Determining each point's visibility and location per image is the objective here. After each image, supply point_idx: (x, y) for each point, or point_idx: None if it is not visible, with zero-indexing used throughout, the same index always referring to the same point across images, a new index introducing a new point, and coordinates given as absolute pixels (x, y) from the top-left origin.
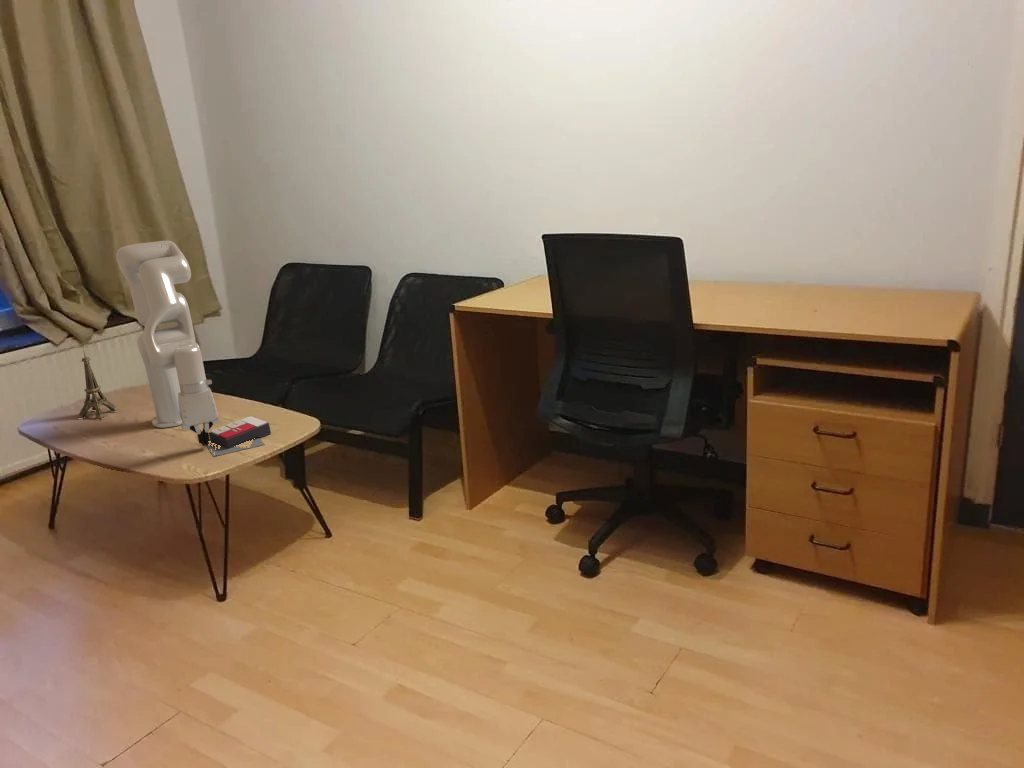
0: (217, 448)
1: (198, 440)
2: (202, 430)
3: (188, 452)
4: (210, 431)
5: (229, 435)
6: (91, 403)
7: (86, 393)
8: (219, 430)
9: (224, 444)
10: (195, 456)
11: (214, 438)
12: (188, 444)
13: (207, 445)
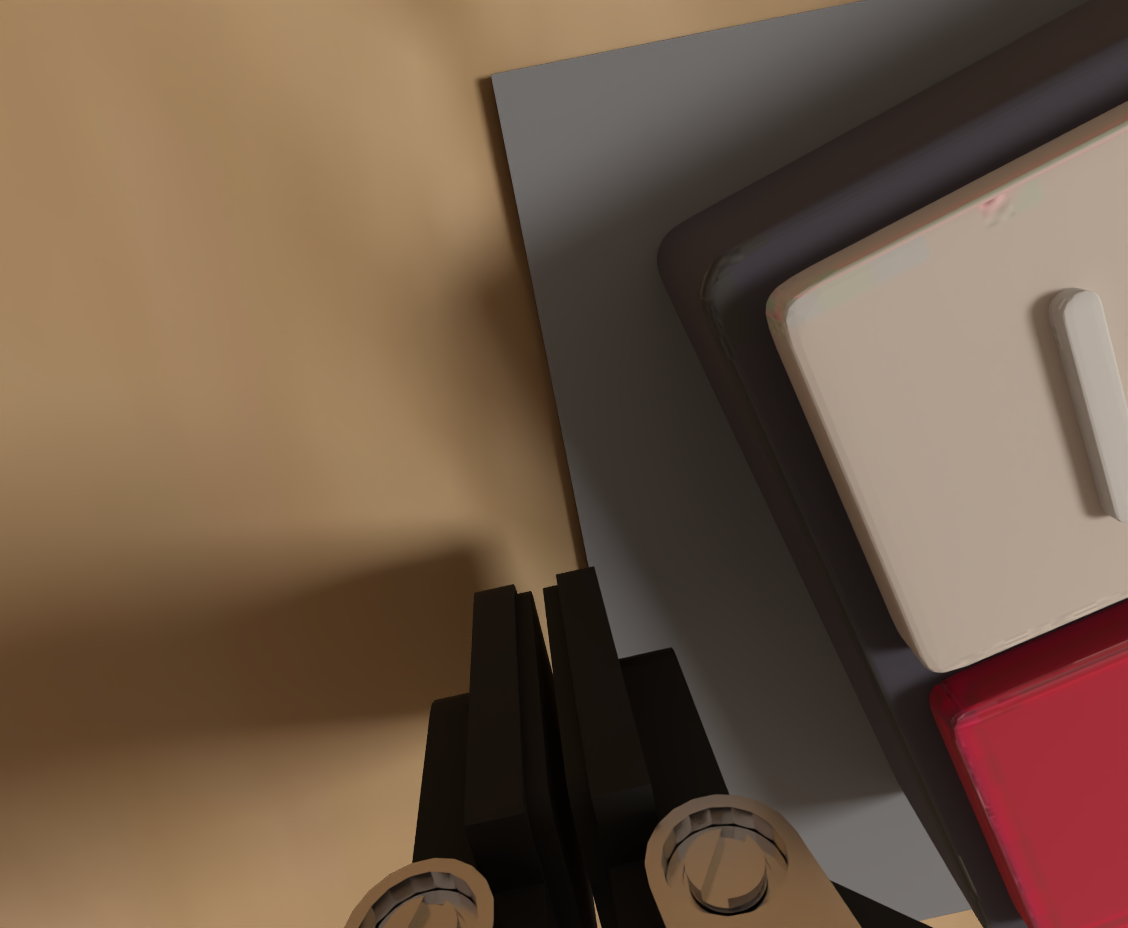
0: (756, 706)
1: (435, 736)
2: (593, 804)
3: (233, 655)
4: (786, 344)
5: None
6: None
7: None
8: (1050, 449)
9: (911, 799)
10: (395, 864)
11: (791, 534)
12: (118, 145)
13: (586, 482)
